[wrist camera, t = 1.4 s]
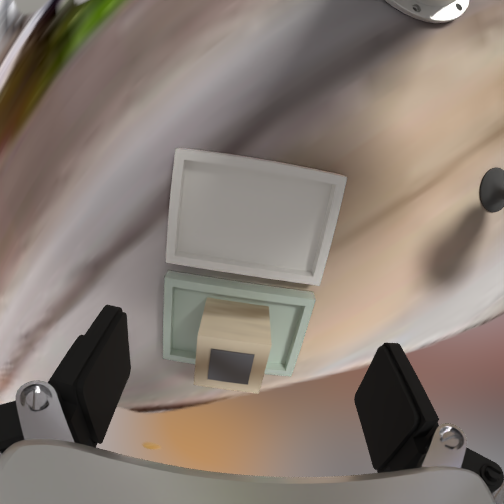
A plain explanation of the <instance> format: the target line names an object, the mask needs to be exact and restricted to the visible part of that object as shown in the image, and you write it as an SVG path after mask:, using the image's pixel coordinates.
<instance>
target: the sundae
mask: <svg viewBox="0 0 504 504" xmlns="http://www.w3.org/2000/svg"><path fill="white" fill-rule="evenodd" d="M480 197H481V201H482V204H483V206H484V207H485V208H486V210H488V211H490V212H497V211H499V210H501V209H502V208H503V207H504V170H502V169H501V168H492V169H491V170H489V171H488V172H487V173H486V175H485V176H484V178H483V180H482V183H481V189H480Z"/></svg>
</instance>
